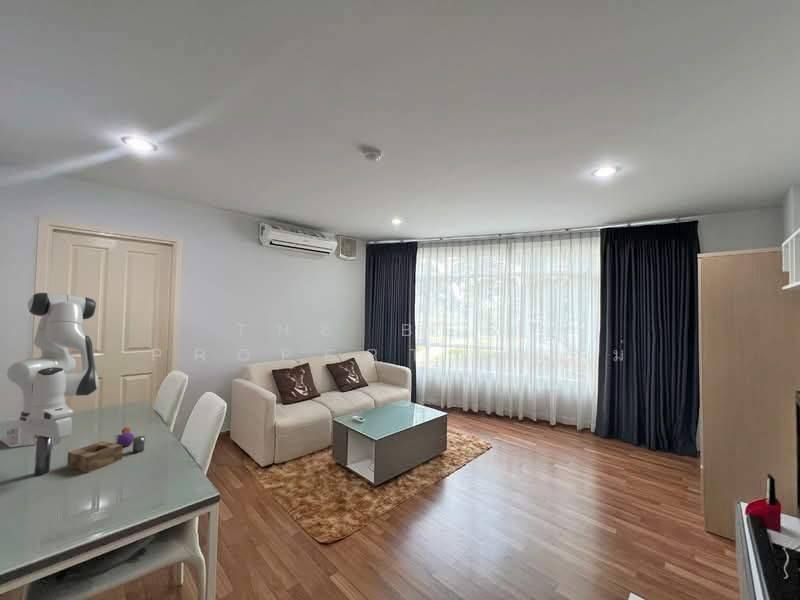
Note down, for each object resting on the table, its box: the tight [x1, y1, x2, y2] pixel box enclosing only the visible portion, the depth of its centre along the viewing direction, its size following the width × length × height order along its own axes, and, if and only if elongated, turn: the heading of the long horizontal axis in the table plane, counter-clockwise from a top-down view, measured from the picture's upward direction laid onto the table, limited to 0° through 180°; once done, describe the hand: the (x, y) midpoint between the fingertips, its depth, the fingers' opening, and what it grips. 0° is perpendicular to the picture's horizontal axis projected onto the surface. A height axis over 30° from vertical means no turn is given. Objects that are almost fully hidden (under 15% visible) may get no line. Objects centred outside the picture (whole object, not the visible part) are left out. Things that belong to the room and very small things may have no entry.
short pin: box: [132, 435, 146, 454], centre depth 146 cm, size 4×4×6 cm
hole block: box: [66, 440, 124, 473], centre depth 133 cm, size 12×12×6 cm
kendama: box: [116, 427, 135, 448], centre depth 156 cm, size 6×6×20 cm
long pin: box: [33, 436, 53, 476], centre depth 124 cm, size 4×4×14 cm
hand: (46, 447), depth 125 cm, fingers open, 8 cm apart
